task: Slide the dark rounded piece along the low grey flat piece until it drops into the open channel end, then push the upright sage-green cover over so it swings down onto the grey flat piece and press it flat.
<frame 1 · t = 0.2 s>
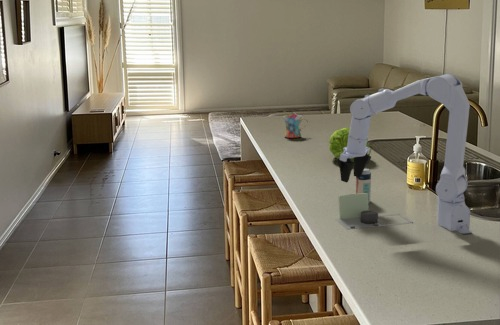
hand: (350, 178, 202), 10 cm above the table, fingers open, 7 cm apart
dark rounded piece: (369, 221, 190), point 1 cm above the table, touching grey flat piece
grey flat piece: (373, 226, 190), on the table
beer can: (362, 206, 210), on the table
mug: (295, 137, 324), on the table
cover: (353, 205, 194), point 5 cm above the table, hinge at 100.0°
lettuce: (347, 159, 276), on the table
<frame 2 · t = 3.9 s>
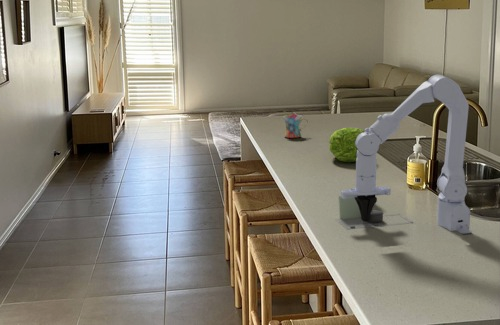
hand: (365, 220, 188), 2 cm above the table, fingers closed
dark rounded piece: (373, 220, 190), point 2 cm above the table, touching gripper
everything else where it was.
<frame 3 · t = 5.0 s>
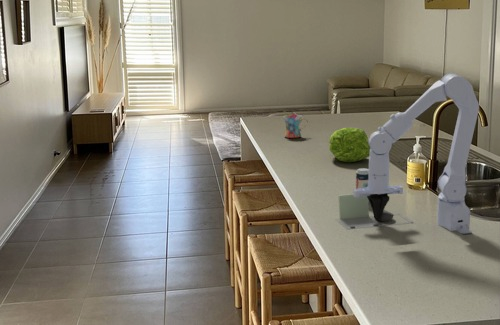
hand: (377, 218, 189), 3 cm above the table, fingers closed
dark rounded piece: (382, 219, 192), point 1 cm above the table, tilted 20°, touching grey flat piece, gripper
everything else where it was.
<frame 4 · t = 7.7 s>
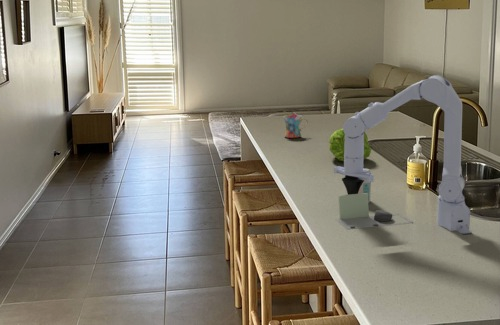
hand: (352, 200, 197), 6 cm above the table, fingers closed
dark rounded piece: (382, 220, 192), point 1 cm above the table, tilted 12°, touching grey flat piece
cover: (353, 205, 194), point 5 cm above the table, hinge at 100.0°, touching gripper
everything else where it was.
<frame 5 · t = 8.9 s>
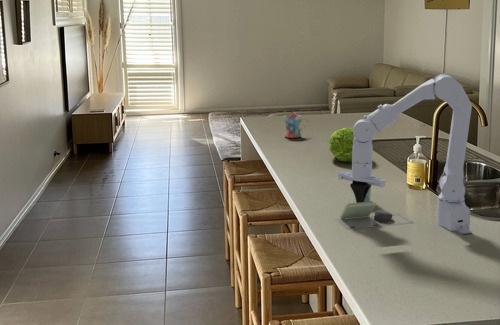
hand: (360, 206, 191), 6 cm above the table, fingers closed, pressing on cover
cover: (357, 210, 191), point 4 cm above the table, hinge at 45.5°, touching gripper
everything else where it was.
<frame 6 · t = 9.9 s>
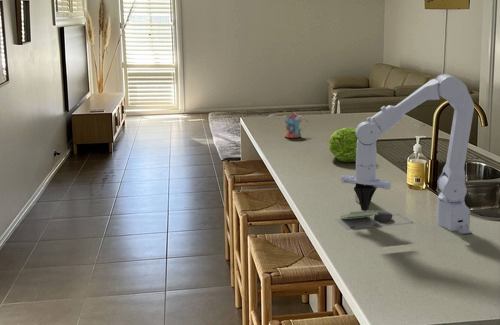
hand: (364, 209, 188), 5 cm above the table, fingers closed
cover: (358, 214, 190), point 3 cm above the table, hinge at 22.3°
everything else where it was.
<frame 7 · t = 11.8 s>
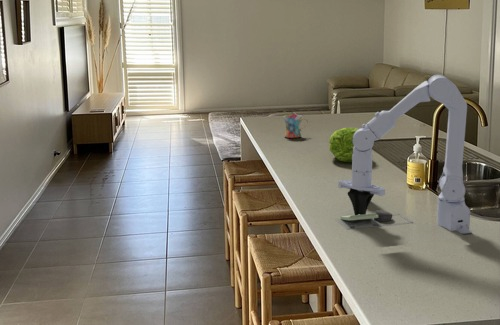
hand: (360, 215, 191), 3 cm above the table, fingers closed
cover: (359, 216, 190), point 3 cm above the table, hinge at 13.9°, touching gripper
everything else where it was.
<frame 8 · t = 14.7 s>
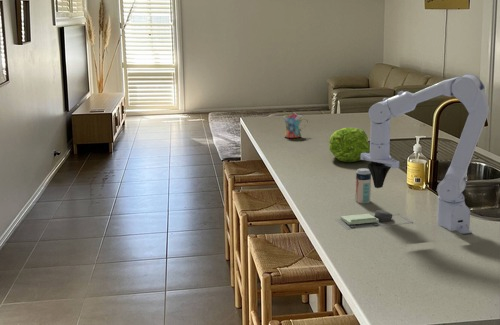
hand: (378, 187, 195), 10 cm above the table, fingers closed
cover: (359, 218, 190), point 2 cm above the table, hinge at 4.1°
everything else where it was.
at the end: cover at +4° (first picture: +100°); dark rounded piece inside the target area (2.9 cm from its centre), point 1.0 cm above the table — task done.
